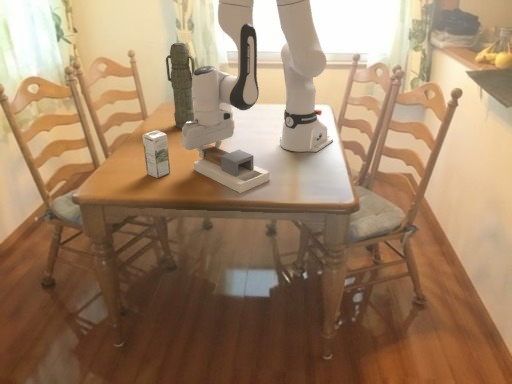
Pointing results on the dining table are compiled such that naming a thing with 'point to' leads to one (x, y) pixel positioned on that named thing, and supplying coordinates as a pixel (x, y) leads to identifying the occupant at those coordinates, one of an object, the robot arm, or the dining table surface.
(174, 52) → the thermos
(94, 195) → the dining table surface
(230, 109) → the pepper shaker
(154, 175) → the syrup box
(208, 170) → the board
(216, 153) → the bar
